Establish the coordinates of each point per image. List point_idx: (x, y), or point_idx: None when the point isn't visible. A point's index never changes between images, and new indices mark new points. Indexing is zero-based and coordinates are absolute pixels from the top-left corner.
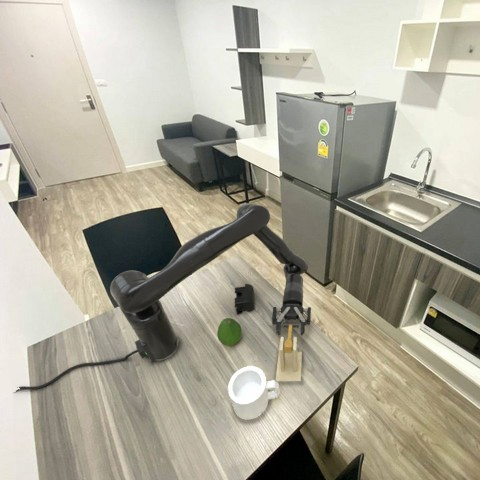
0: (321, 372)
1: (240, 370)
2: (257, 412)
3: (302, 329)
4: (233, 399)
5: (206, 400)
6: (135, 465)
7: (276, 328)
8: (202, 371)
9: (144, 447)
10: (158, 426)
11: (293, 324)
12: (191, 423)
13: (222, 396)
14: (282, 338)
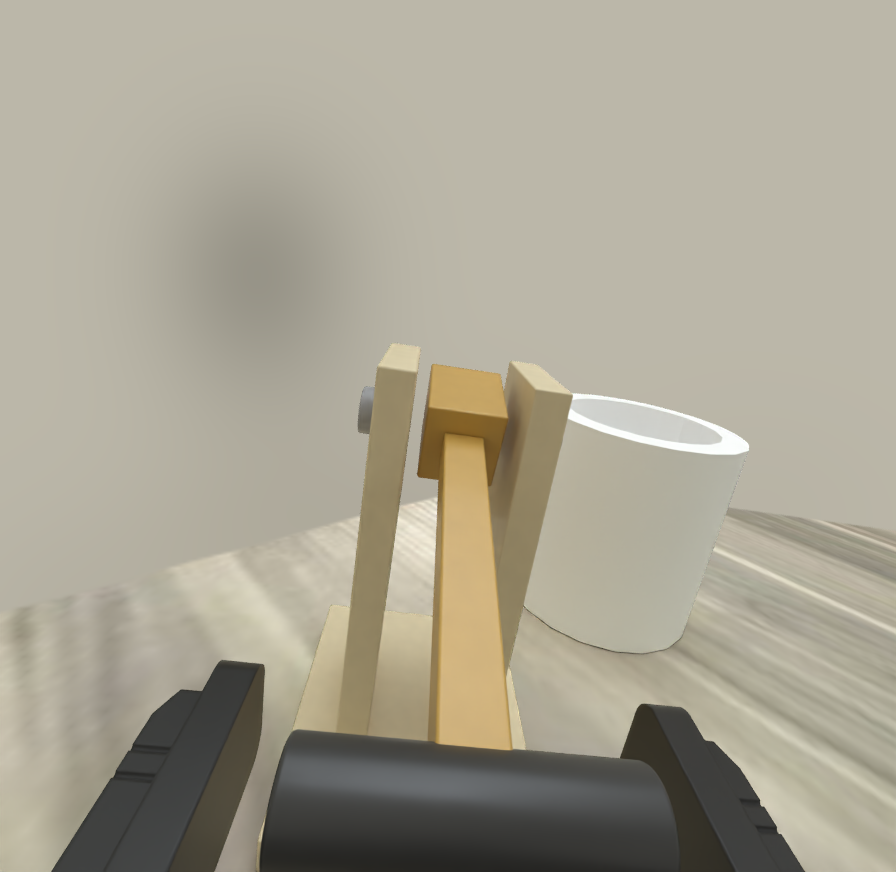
0: (141, 666)
1: (730, 449)
2: None
3: (209, 689)
4: (659, 408)
5: (807, 620)
6: (817, 526)
7: (748, 795)
8: None
9: (845, 547)
10: (878, 577)
11: (406, 745)
12: (776, 569)
13: (750, 624)
14: (545, 387)
